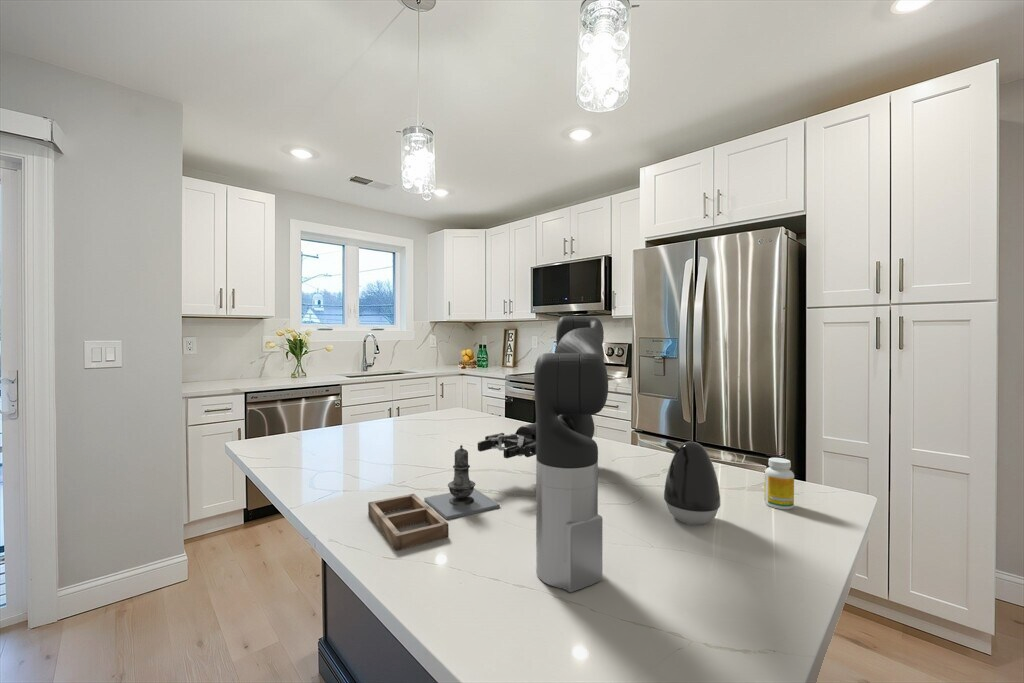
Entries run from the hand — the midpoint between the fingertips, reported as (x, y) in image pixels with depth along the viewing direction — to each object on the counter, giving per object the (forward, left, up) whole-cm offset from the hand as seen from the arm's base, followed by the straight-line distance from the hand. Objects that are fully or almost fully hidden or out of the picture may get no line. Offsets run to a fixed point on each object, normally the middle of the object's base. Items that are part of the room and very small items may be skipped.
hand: (491, 450), depth 104 cm
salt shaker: (-3, +9, -9) cm, 13 cm away
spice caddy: (-7, +22, -10) cm, 25 cm away
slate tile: (-3, +9, -10) cm, 13 cm away
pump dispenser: (-34, -26, -10) cm, 43 cm away
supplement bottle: (-39, -48, -10) cm, 62 cm away
